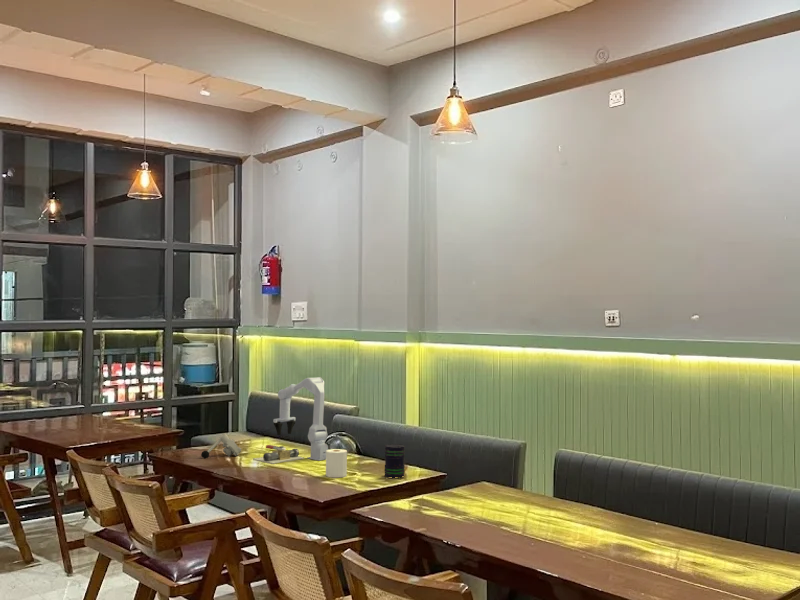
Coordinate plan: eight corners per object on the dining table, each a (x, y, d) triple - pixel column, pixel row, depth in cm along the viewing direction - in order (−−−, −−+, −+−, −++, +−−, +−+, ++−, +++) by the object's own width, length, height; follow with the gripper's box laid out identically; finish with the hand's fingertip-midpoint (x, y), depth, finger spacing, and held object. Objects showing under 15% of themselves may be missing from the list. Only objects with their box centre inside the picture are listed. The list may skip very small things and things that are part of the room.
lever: (287, 450, 414) (287, 446, 414) (280, 451, 410) (280, 447, 410) (271, 447, 423) (271, 443, 423) (264, 448, 420) (264, 444, 420)
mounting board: (304, 458, 418) (304, 457, 418) (272, 463, 401) (272, 462, 401) (285, 454, 428) (285, 453, 428) (253, 459, 412) (253, 458, 412)
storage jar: (380, 475, 374) (380, 445, 375) (395, 473, 381) (396, 443, 381) (393, 479, 367) (393, 447, 367) (408, 477, 373) (409, 446, 374)
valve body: (300, 458, 419) (300, 449, 419) (269, 462, 403) (269, 453, 404) (292, 456, 423) (292, 448, 423) (261, 461, 408) (262, 452, 408)
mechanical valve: (244, 451, 422) (227, 431, 417) (221, 475, 413) (203, 455, 409) (237, 450, 430) (220, 430, 426) (214, 473, 421) (196, 453, 417)
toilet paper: (350, 475, 375) (351, 450, 375) (337, 478, 366) (338, 453, 367) (334, 472, 381) (334, 448, 381) (321, 476, 372) (321, 450, 372)
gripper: (290, 408, 445) (289, 432, 445) (270, 410, 434) (269, 434, 434) (298, 409, 441) (297, 433, 440) (278, 411, 430) (277, 436, 429)
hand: (284, 434), depth 437 cm, fingers open, 7 cm apart
